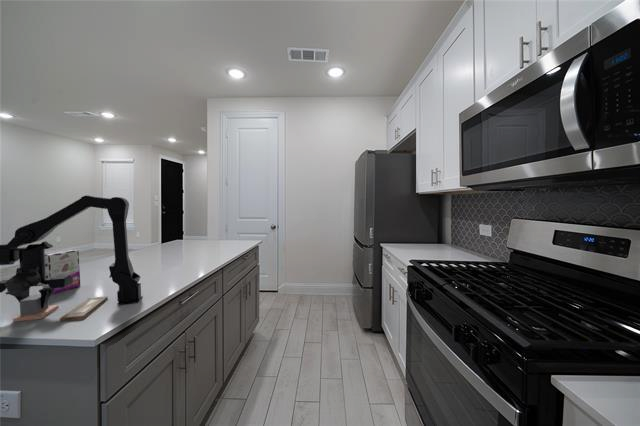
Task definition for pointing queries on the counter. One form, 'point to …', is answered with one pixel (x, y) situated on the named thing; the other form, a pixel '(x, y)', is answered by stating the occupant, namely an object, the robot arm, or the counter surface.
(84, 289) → the counter surface
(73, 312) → the board
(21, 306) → the stub
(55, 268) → the candy bar box
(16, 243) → the robot arm
